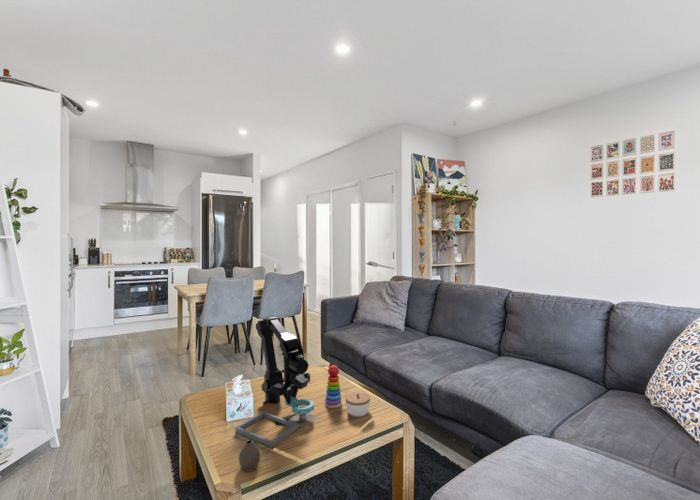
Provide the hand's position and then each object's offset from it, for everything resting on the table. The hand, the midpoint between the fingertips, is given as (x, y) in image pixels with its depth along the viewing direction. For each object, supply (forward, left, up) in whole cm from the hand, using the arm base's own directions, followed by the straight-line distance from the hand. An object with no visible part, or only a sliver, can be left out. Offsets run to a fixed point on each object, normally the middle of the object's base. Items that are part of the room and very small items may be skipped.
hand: (291, 403), depth 148 cm
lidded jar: (+23, +17, -7) cm, 30 cm away
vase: (+10, -32, -7) cm, 34 cm away
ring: (+4, 0, -1) cm, 4 cm away
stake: (+6, 0, -6) cm, 9 cm away
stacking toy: (+9, +18, -7) cm, 21 cm away
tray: (-1, -13, -6) cm, 15 cm away
